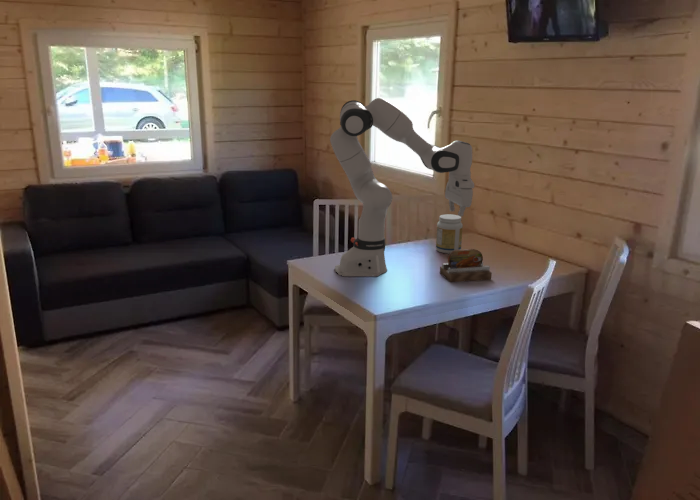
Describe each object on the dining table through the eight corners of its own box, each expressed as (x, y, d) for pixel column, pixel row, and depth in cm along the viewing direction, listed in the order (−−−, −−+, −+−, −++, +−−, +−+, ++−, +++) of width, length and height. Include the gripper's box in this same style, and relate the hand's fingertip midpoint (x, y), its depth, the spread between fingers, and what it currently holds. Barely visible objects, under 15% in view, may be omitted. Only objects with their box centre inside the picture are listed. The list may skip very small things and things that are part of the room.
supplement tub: (449, 246, 299) (451, 212, 294) (466, 251, 289) (468, 217, 284) (430, 249, 292) (432, 215, 288) (447, 255, 283) (449, 220, 278)
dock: (450, 282, 246) (451, 270, 244) (439, 273, 257) (440, 262, 256) (491, 279, 250) (492, 268, 248) (478, 270, 261) (479, 259, 260)
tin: (449, 270, 250) (450, 251, 248) (446, 268, 253) (447, 249, 251) (482, 268, 254) (483, 249, 251) (479, 266, 257) (480, 247, 254)
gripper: (442, 176, 257) (440, 208, 261) (461, 184, 238) (458, 218, 242) (456, 176, 258) (453, 208, 262) (476, 184, 239) (473, 218, 243)
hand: (456, 213), depth 252 cm, fingers open, 8 cm apart
